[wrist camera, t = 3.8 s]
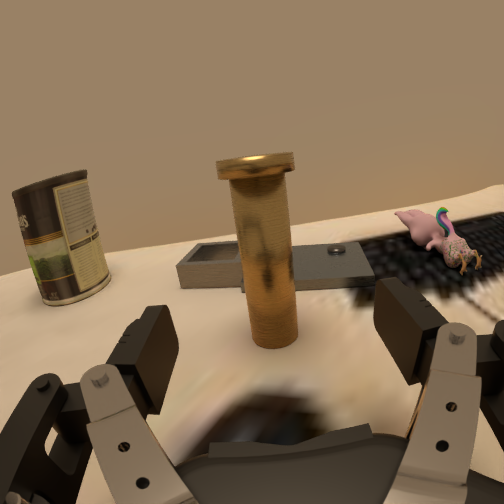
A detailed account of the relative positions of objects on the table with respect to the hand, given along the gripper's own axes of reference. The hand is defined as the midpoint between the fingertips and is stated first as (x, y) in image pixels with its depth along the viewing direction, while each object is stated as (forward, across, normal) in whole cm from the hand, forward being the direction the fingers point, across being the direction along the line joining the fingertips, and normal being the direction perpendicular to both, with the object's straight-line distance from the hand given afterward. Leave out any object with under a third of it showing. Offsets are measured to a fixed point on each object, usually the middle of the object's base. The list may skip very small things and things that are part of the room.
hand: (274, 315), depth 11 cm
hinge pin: (+8, 0, +6) cm, 10 cm away
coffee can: (+20, +24, +7) cm, 32 cm away
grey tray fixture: (+19, -1, +6) cm, 20 cm away
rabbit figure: (+19, -20, +7) cm, 28 cm away
